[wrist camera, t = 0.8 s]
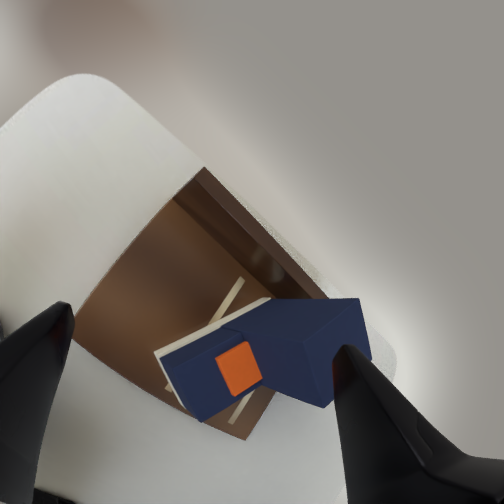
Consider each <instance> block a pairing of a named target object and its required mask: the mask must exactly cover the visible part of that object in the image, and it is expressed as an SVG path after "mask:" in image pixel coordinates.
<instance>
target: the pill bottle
mask: <svg viewBox="0 0 504 504" xmlns="http://www.w3.org/2000/svg"><path fill="white" fill-rule="evenodd" d="M3 339H4V335H3V329H2V326H1V322H0V342H1V341H2V340H3Z"/></svg>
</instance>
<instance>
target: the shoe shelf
mask: <svg viewBox="0 0 504 504" xmlns="http://www.w3.org/2000/svg"><path fill="white" fill-rule="evenodd" d="M261 298H271V299H329V298H328V297H327V296H326V295H325V293H324V292H323V291H322V290H321V289H320V288H319V287H318V286H317V285H316V284H315V282H314V281H313V280H312V279H311V278H310V277H309V276H308V275H307V274H306V273H305V272H304V270H303V269H302V268H301V267H300V266H299V265H298V264H297V263H296V262H295V261H294V260H293V259H292V258H291V256H290V255H289V254H288V253H287V252H286V251H285V250H284V249H283V248H282V247H281V246H280V245H279V244H278V243H277V241H276V240H275V239H274V238H273V237H272V236H271V235H270V234H269V233H268V232H267V231H266V230H265V229H264V228H263V227H262V226H261V225H260V223H259V222H258V221H257V220H256V219H255V218H254V217H253V216H252V215H251V214H250V213H249V212H248V211H247V210H246V209H245V208H244V207H243V206H242V205H241V204H240V203H239V202H238V200H237V199H236V198H235V197H234V196H233V195H232V194H231V193H230V192H229V191H228V190H227V189H226V188H225V187H224V186H223V185H222V184H221V183H220V182H219V181H218V180H217V179H216V178H215V177H214V176H213V175H212V174H211V173H210V172H209V171H208V170H207V169H206V168H205V167H203V168H202V169H201V170H200V171H199V172H198V173H197V174H195V175H194V176H193V177H192V178H191V179H190V180H189V181H188V182H187V183H186V184H185V185H184V186H183V187H182V188H181V189H180V190H179V191H178V192H177V193H176V194H175V195H174V196H173V197H172V198H171V199H170V200H169V201H168V202H167V203H166V204H165V205H164V206H163V207H162V209H161V210H160V211H159V212H158V213H157V214H156V215H155V216H154V217H153V218H152V219H151V221H150V222H149V223H148V224H147V225H146V226H145V227H144V228H143V230H142V231H141V232H140V233H139V234H138V235H137V236H136V238H135V239H134V240H133V241H132V242H131V243H130V245H129V246H128V247H127V248H126V249H125V251H124V252H123V253H122V254H121V255H120V257H119V258H118V259H117V260H116V262H115V263H114V264H113V265H112V267H111V268H110V269H109V270H108V272H107V273H106V274H105V275H104V277H103V278H102V279H101V281H100V282H99V283H98V284H97V286H96V287H95V288H94V290H93V291H92V292H91V294H90V295H89V296H88V298H87V299H86V300H85V302H84V303H83V305H82V306H81V307H80V309H79V310H78V312H77V313H76V314H75V316H74V319H75V329H74V332H73V336H72V339H73V340H74V341H76V342H77V343H78V344H79V345H81V346H82V347H83V348H84V349H86V350H87V351H88V352H90V353H91V354H92V355H93V356H95V357H96V358H97V359H99V360H100V361H101V362H103V363H104V364H106V365H107V366H108V367H110V368H111V369H113V370H114V371H116V372H117V373H118V374H120V375H121V376H123V377H124V378H126V379H127V380H129V381H130V382H132V383H134V384H135V385H137V386H138V387H140V388H141V389H143V390H145V391H146V392H148V393H150V394H151V395H153V396H155V397H156V398H158V399H160V400H162V401H163V402H165V403H167V404H169V405H170V406H172V407H174V408H176V409H178V410H180V411H182V412H183V413H185V414H187V415H189V416H191V417H193V418H195V417H194V416H193V415H192V414H191V413H190V412H189V411H188V410H187V409H185V408H184V407H183V406H182V405H181V404H180V402H179V401H178V399H177V397H176V395H175V393H174V392H173V390H172V388H171V386H170V384H169V382H168V380H167V378H166V376H165V374H164V372H163V370H162V368H161V366H160V364H159V362H158V360H157V358H156V356H155V354H154V351H156V350H158V349H161V348H163V347H165V346H167V345H169V344H171V343H173V342H175V341H177V340H180V339H182V338H184V337H186V336H188V335H190V334H192V333H194V332H196V331H198V330H200V329H202V328H204V327H206V326H208V325H210V324H212V323H214V322H216V321H218V320H220V319H222V318H224V317H226V316H228V315H230V314H232V313H234V312H236V311H238V310H240V309H242V308H243V307H245V306H247V305H249V304H251V303H253V302H255V301H257V300H259V299H261ZM275 392H276V391H275V390H272V389H270V388H268V387H265V386H263V385H261V386H260V387H258V388H257V389H255V390H254V391H252V392H251V393H249V394H248V395H246V396H245V397H243V398H241V399H240V400H238V401H237V402H235V403H234V404H232V405H230V406H229V407H227V408H226V409H224V410H222V411H221V412H219V413H217V414H216V415H214V416H212V417H211V418H209V419H207V420H205V421H204V422H203V423H206V424H208V425H210V426H212V427H214V428H216V429H219V430H221V431H223V432H225V433H228V434H230V435H232V436H235V437H237V438H240V439H242V440H246V439H247V437H248V436H249V434H250V433H251V431H252V429H253V428H254V426H255V425H256V423H257V422H258V420H259V418H260V417H261V415H262V414H263V412H264V410H265V409H266V407H267V406H268V404H269V402H270V401H271V399H272V397H273V396H274V394H275ZM195 419H196V418H195Z"/></svg>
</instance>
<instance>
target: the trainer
mask: <svg viewBox="0 0 504 504" xmlns="http://www.w3.org/2000/svg"><path fill="white" fill-rule="evenodd" d="M343 344H353V345H355V346H356V347H357V348H358V349H359V350H360V351H361V352H362V353H363V354H364V355H365V356H366V357H367V358H368V359H369V360H370V361H371V360H372V355H371V350H370V345H369V340H368V335H367V331H366V326H365V322H364V317H363V313H362V309H361V305H360V300H359V298H343V299H271V298H261V299H259V300H257V301H255V302H253V303H251V304H249V305H247V306H245V307H243V308H242V309H240V310H238V311H236V312H234V313H232V314H230V315H228V316H226V317H224V318H222V319H220V320H218V321H216V322H214V323H212V324H210V325H208V326H206V327H204V328H202V329H200V330H198V331H196V332H194V333H192V334H190V335H188V336H186V337H184V338H182V339H180V340H177V341H175V342H173V343H171V344H169V345H167V346H165V347H163V348H161V349H158V350H156V351H154V354H155V356H156V358H157V360H158V362H159V364H160V366H161V368H162V370H163V372H164V374H165V376H166V378H167V380H168V382H169V384H170V386H171V388H172V390H173V392H174V393H175V395H176V397H177V399H178V401H179V402H180V404H181V405H182V406H183V407H184V408H185V409H187V410H188V411H189V412H190V413H191V414H192V415H193V416H194V417H195V418H196V419H197V420H198V421H199V422H201V423H202V422H204V421H205V420H207V419H209V418H211V417H212V416H214V415H216V414H217V413H219V412H221V411H222V410H224V409H226V408H227V407H229V406H230V405H232V404H234V403H235V402H237V401H238V400H240V399H241V398H243V397H245V396H246V395H248V394H249V393H251V392H252V391H254V390H255V389H257V388H258V387H260V386H261V385H263V386H265V387H268V388H270V389H272V390H275V391H277V392H280V393H282V394H285V395H287V396H290V397H293V398H295V399H298V400H301V401H303V402H306V403H309V404H312V405H315V406H318V407H321V408H325V407H326V406H327V405H328V404H329V403H330V402H331V401H333V400H334V391H333V375H332V360H333V358H334V356H335V355H336V353H337V352H338V350H339V349H340V347H341V346H342V345H343Z"/></svg>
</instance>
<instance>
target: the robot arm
mask: <svg viewBox="0 0 504 504" xmlns="http://www.w3.org/2000/svg"><path fill="white" fill-rule="evenodd" d="M74 329H75V319H74V315H73V312H72V308H71V305H70V304H69V303H66V302H62V301H58V302H56V303H55V304H53V305H52V306H50V307H49V308H47V309H46V310H44V311H43V312H41V313H40V314H39V315H37V316H36V317H34V318H33V319H31V320H30V321H28V322H27V323H26V324H24V325H23V326H21V327H20V328H18V329H17V330H16V331H14V332H13V333H11V334H10V335H9V336H7V337H6V338H5V339H3V340H2V341H1V342H0V504H76V503H74V502H72V501H68V500H65V499H62V498H59V497H56V496H53V495H50V494H47V493H45V492H42V491H39V490H37V489H34V484H35V477H36V471H37V465H38V459H39V454H40V449H41V445H42V440H43V436H44V432H45V428H46V424H47V420H48V417H49V413H50V410H51V406H52V403H53V399H54V396H55V393H56V390H57V387H58V384H59V381H60V378H61V375H62V372H63V369H64V366H65V362H66V359H67V355H68V351H69V347H70V343H71V339H72V336H73V332H74ZM332 375H333V391H334V404H335V410H336V416H337V423H338V429H339V436H340V442H341V449H342V457H343V464H344V472H345V480H346V488H347V498H348V504H504V460H500V459H490V458H481V457H474V456H470V455H467V454H465V453H463V452H462V451H461V450H460V449H458V448H457V447H456V446H455V445H454V444H453V443H451V442H450V441H449V440H448V439H447V438H445V437H444V436H443V435H442V434H441V433H440V432H439V431H438V430H437V429H436V428H434V427H433V426H432V425H431V424H430V423H429V422H428V421H427V420H426V419H425V418H424V416H423V415H421V413H420V412H418V411H417V409H416V408H415V407H414V406H413V405H412V404H411V403H410V402H409V401H408V400H407V399H406V398H405V397H404V396H403V395H402V394H401V392H399V390H398V389H397V388H396V387H395V386H394V385H393V384H392V383H391V382H390V381H389V380H388V379H387V378H386V377H385V376H384V375H383V374H382V373H381V372H380V371H379V370H378V368H377V367H376V366H375V365H374V364H373V363H372V362H371V361H370V360H369V359H368V358H367V357H366V356H365V355H364V354H363V353H362V352H361V351H360V350H359V349H358V348H357V347H356V346H355V345H353V344H343V345H342V346H341V347H340V349H339V350H338V352H337V353H336V355H335V356H334V358H333V360H332Z"/></svg>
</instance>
